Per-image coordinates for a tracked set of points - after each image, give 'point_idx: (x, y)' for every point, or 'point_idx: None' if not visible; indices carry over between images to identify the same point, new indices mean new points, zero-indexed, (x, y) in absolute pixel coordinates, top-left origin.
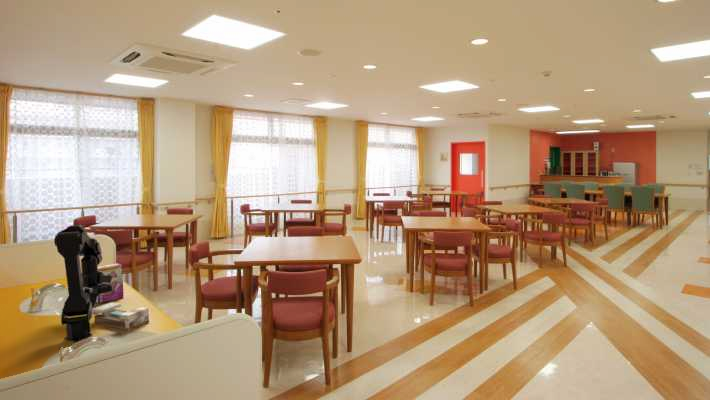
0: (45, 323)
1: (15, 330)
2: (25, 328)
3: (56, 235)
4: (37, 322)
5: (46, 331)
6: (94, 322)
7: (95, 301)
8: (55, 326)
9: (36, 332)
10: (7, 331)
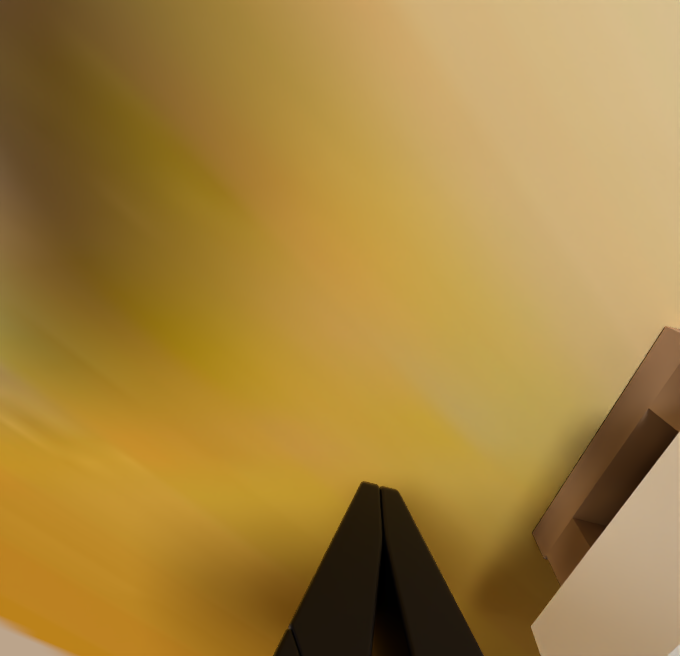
0: (91, 539)
1: (52, 624)
2: (70, 604)
3: None
4: (10, 525)
5: (262, 642)
6: (540, 543)
7: (448, 595)
8: (232, 581)
9: (214, 650)
10: (27, 633)
